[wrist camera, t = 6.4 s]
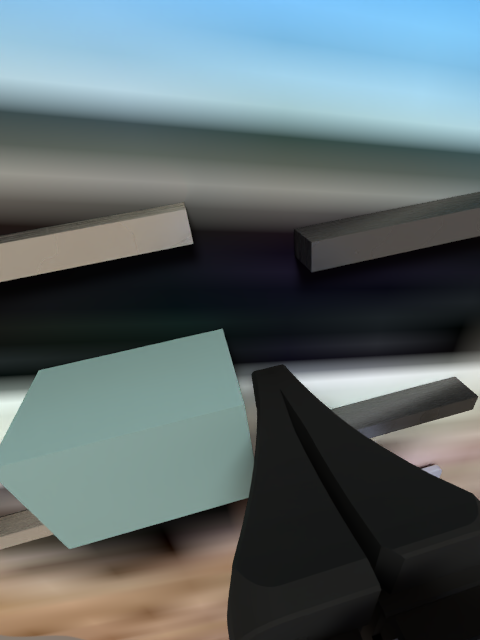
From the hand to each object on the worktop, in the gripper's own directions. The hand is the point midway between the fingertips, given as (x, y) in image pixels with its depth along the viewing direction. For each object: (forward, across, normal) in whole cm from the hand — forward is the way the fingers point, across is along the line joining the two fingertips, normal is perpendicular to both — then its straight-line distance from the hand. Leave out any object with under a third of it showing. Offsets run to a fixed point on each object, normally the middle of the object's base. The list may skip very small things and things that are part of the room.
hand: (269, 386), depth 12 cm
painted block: (+2, +5, 0) cm, 5 cm away
